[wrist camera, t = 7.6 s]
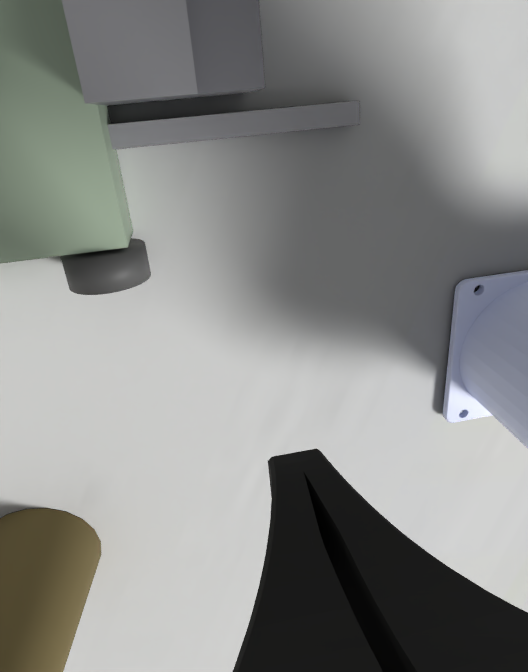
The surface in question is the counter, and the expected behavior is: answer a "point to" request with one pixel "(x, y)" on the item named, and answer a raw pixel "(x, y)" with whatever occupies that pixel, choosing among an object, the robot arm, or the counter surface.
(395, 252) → the counter surface
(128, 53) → the grey block on ledge
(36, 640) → the olive brown tapered figure
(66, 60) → the mower deck
